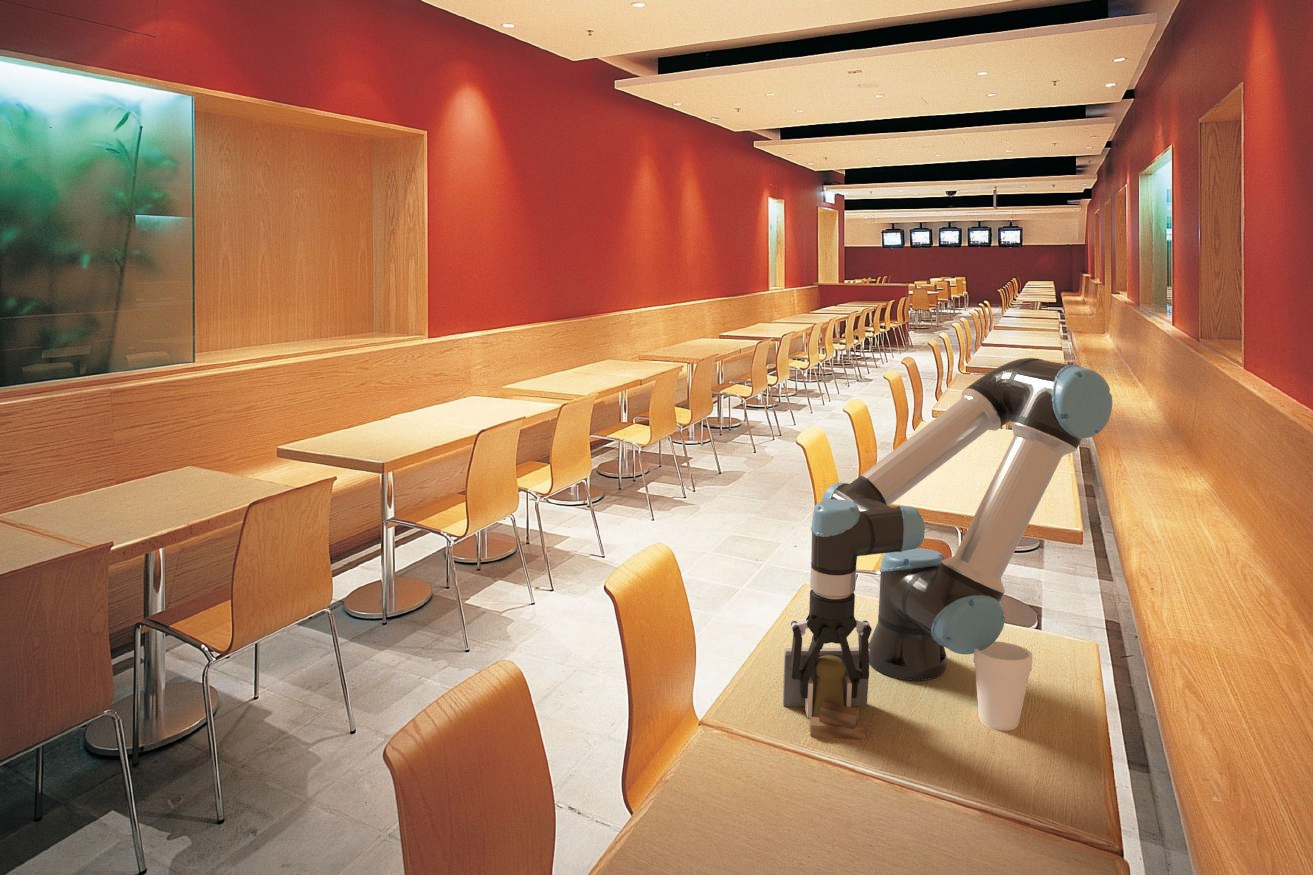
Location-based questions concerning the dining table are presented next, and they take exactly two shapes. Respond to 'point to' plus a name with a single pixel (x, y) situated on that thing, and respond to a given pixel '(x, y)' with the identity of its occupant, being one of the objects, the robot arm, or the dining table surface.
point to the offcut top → (838, 715)
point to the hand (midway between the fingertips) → (827, 713)
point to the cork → (828, 682)
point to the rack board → (793, 685)
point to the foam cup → (1001, 683)
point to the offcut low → (836, 730)
